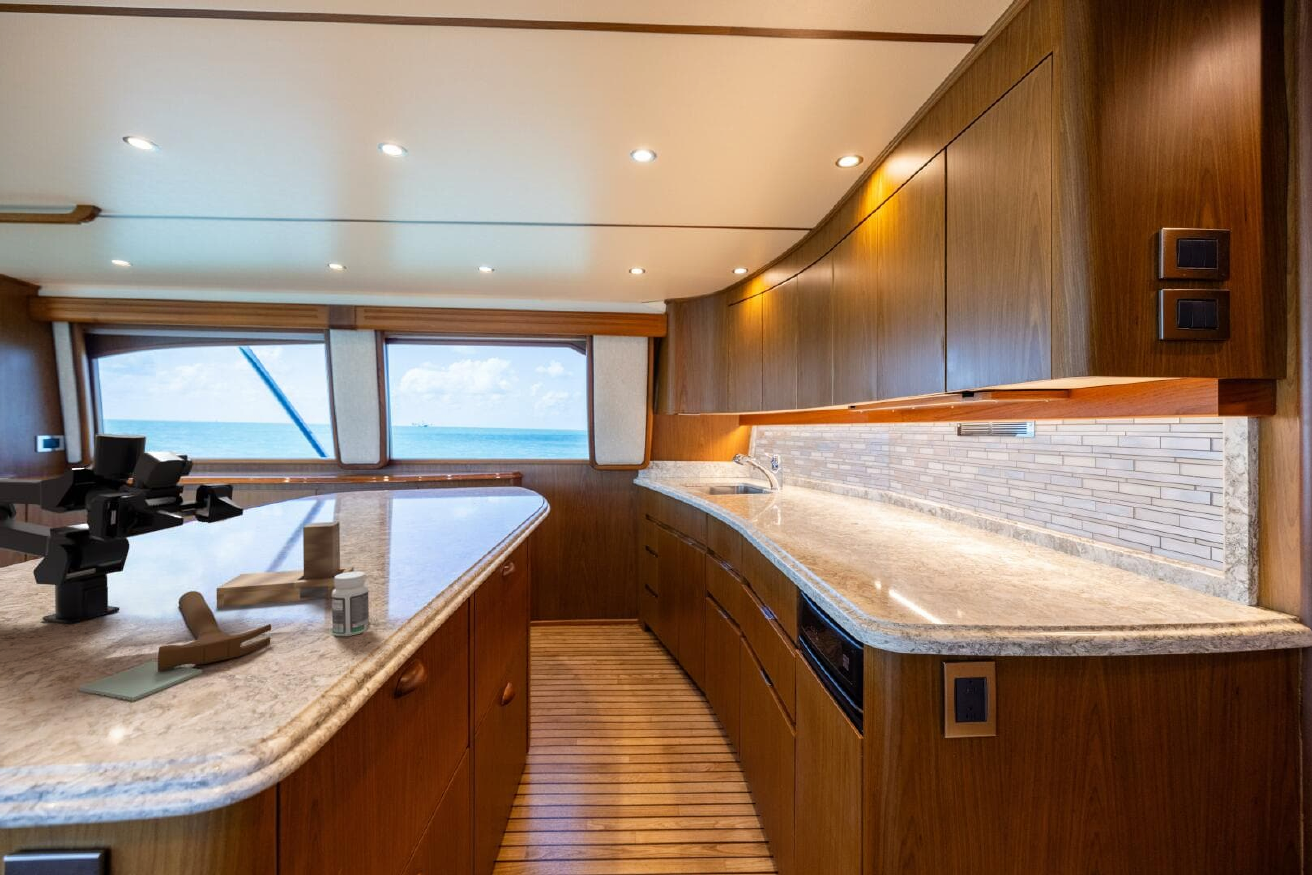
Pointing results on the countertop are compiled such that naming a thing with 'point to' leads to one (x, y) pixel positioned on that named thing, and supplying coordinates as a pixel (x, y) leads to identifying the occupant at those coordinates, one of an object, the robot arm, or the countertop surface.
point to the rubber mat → (139, 681)
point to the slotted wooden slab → (274, 588)
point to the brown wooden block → (321, 550)
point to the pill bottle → (350, 604)
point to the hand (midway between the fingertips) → (213, 516)
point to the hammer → (206, 637)
